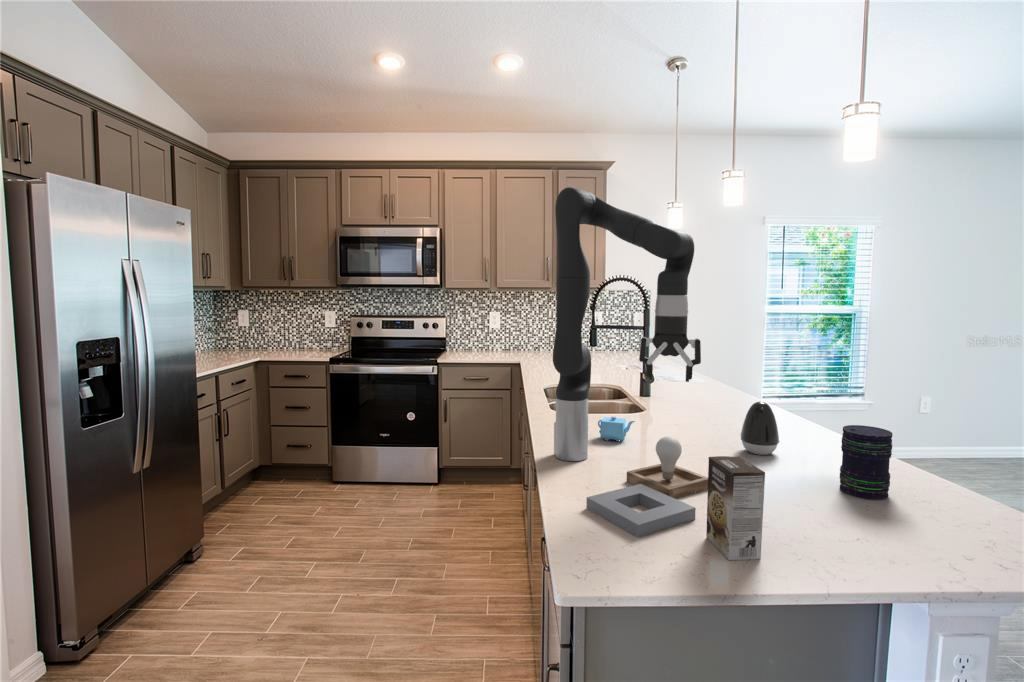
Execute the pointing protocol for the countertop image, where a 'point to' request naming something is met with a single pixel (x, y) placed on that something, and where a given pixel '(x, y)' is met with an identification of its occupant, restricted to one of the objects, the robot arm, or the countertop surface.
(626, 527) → the socket block
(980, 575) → the countertop surface
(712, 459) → the coffee box
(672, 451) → the lightbulb
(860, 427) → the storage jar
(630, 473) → the tray
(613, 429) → the teapot
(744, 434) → the black egg-shaped device
